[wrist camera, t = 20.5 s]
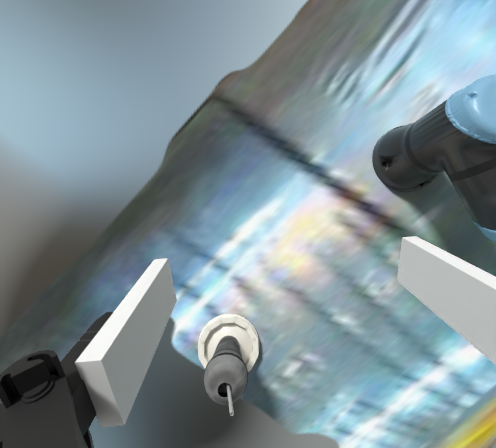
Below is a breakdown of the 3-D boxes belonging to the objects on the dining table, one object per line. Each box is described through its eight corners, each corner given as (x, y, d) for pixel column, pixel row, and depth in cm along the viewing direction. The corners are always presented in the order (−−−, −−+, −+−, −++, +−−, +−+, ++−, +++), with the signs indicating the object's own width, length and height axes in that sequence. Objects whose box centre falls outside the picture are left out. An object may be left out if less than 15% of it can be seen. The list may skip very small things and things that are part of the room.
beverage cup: (216, 324, 50) (203, 375, 31) (249, 333, 51) (257, 389, 31) (207, 359, 50) (186, 434, 30) (240, 368, 50) (242, 449, 30)
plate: (269, 330, 52) (270, 334, 50) (241, 387, 50) (241, 393, 48) (216, 302, 52) (216, 304, 50) (187, 358, 50) (185, 362, 48)
